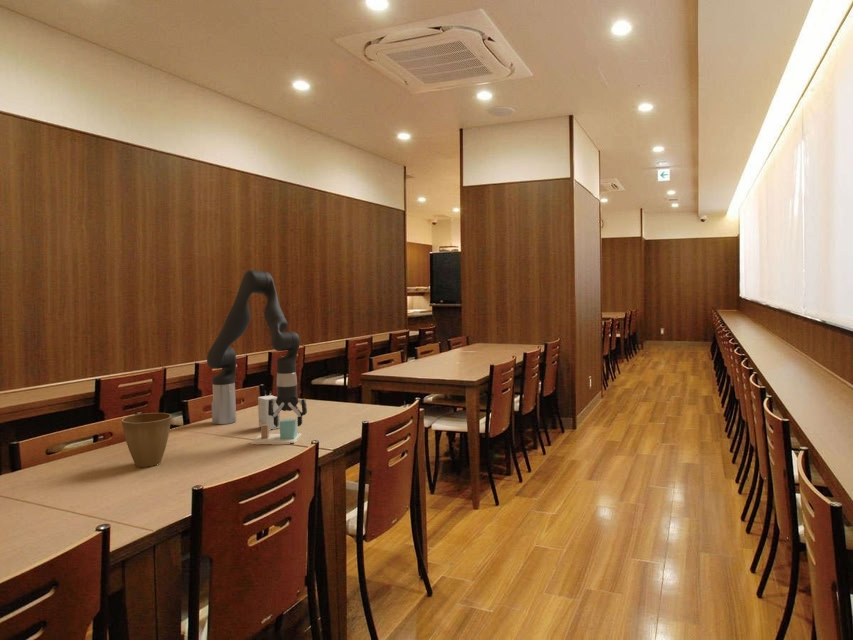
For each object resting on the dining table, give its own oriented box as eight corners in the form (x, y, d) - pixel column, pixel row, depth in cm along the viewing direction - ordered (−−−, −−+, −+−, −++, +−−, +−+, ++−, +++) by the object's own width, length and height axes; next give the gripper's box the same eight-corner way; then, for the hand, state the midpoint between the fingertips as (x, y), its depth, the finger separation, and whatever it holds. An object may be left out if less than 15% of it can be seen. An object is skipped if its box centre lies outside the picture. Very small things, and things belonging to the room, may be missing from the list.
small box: (280, 428, 236) (279, 397, 235) (266, 431, 232) (265, 399, 231) (272, 425, 242) (271, 394, 242) (258, 427, 238) (257, 396, 238)
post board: (251, 444, 211) (250, 429, 211) (261, 436, 223) (260, 421, 223) (294, 444, 211) (293, 428, 211) (301, 435, 223) (301, 420, 223)
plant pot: (118, 473, 180) (116, 424, 179) (129, 460, 195) (127, 414, 194) (169, 468, 184) (167, 420, 183) (176, 456, 199) (174, 411, 198)
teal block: (280, 439, 214) (279, 422, 214) (283, 435, 220) (283, 419, 219) (293, 439, 214) (293, 421, 214) (297, 435, 220) (296, 418, 219)
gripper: (307, 382, 220) (308, 423, 221) (271, 382, 220) (272, 424, 221) (303, 385, 212) (304, 428, 213) (265, 386, 212) (266, 428, 213)
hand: (288, 426), depth 217 cm, fingers open, 8 cm apart
